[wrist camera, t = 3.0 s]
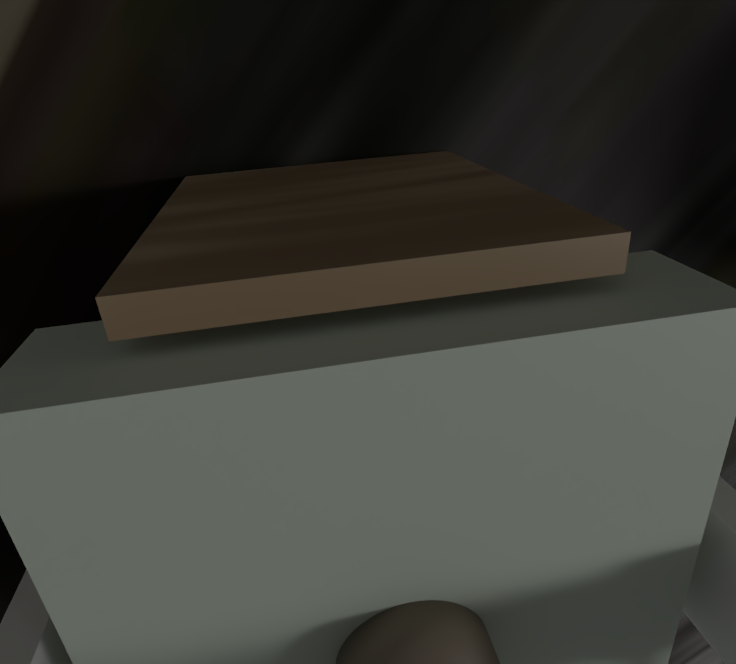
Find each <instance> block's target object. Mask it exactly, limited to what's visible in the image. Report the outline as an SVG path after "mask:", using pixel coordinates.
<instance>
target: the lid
mask: <svg viewBox="0 0 736 664" xmlns="http://www.w3.org/2000/svg"><path fill="white" fill-rule="evenodd" d="M735 417H736V289H735V288H733V287H731V286H729V285H726V284H724V283H722V282H720V281H718V280H716V279H713V278H711V277H709V276H707V275H705V274H703V273H701V272H698V271H696V270H694V269H692V268H690V267H688V266H685V265H683V264H681V263H679V262H677V261H675V260H672V259H670V258H668V257H666V256H664V255H662V254H659V253H657V252H655V251H653V250H650V251H642V252H634V253H628V256H627V263H626V269H625V273H623V274H616V275H608V276H601V277H593V278H585V279H578V280H570V281H563V282H555V283H548V284H540V285H533V286H525V287H517V288H510V289H502V290H495V291H487V292H480V293H472V294H465V295H457V296H449V297H442V298H434V299H427V300H419V301H412V302H404V303H397V304H389V305H381V306H374V307H366V308H359V309H351V310H344V311H336V312H329V313H321V314H313V315H306V316H298V317H291V318H283V319H276V320H268V321H261V322H253V323H245V324H238V325H230V326H223V327H215V328H208V329H200V330H192V331H185V332H177V333H170V334H162V335H155V336H147V337H140V338H132V339H124V340H117V341H109V340H108V337H107V334H106V331H105V328H104V324H103V321H94V322H86V323H78V324H70V325H63V326H55V327H47V328H39V329H35V330H34V331H33V332H32V333H31V334H30V336H29V337H28V338H27V339H26V340H25V341H24V342H23V343H22V345H21V346H20V347H19V348H18V349H17V350H16V351H15V352H14V354H13V355H12V356H11V357H10V358H9V359H8V360H7V361H6V363H5V364H4V365H3V366H2V367H1V368H0V516H1V518H2V520H3V522H4V524H5V526H6V528H7V530H8V532H9V534H10V536H11V538H12V540H13V542H14V544H15V546H16V548H17V550H18V552H19V554H20V557H21V559H22V561H23V563H24V565H25V567H26V569H27V571H28V573H29V575H30V577H31V579H32V581H33V583H34V585H35V587H36V589H37V591H38V593H39V595H40V597H41V599H42V601H43V604H44V606H45V608H46V610H47V612H48V614H49V616H50V618H51V620H52V622H53V624H54V626H55V628H56V630H57V632H58V634H59V636H60V638H61V640H62V642H63V644H64V646H65V648H66V651H67V653H68V655H69V657H70V659H71V661H72V663H73V664H668V661H669V657H670V654H671V650H672V646H673V643H674V639H675V636H676V632H677V628H678V625H679V621H680V617H681V614H682V610H683V606H684V603H685V599H686V595H687V592H688V588H689V585H690V581H691V577H692V574H693V570H694V566H695V563H696V559H697V555H698V552H699V548H700V545H701V541H702V537H703V534H704V530H705V526H706V523H707V519H708V515H709V512H710V508H711V504H712V501H713V497H714V494H715V490H716V486H717V483H718V479H719V475H720V472H721V468H722V464H723V461H724V457H725V453H726V450H727V446H728V443H729V439H730V435H731V432H732V428H733V424H734V421H735Z"/></svg>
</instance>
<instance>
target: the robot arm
mask: <svg viewBox="0 0 736 664" xmlns="http://www.w3.org/2000/svg"><path fill="white" fill-rule="evenodd" d="M683 611H684V612H685V614H686V615H687V616H688V618H689V619H690V620H691V621H692V623H693V624H694V625H695V627H696V628H697V629H698V630H699V632H700V633H701V634H702V636H703V637H704V638H705V639H706V641H707V642H708V643H709V645H710V646H711V647H712V648H713V650H714V651H715V652H716V654H717V655H718V656H719V657H720V659H721V660H722V661H723V663H724V664H736V490H735V489H733V488H732V487H731V486H730V485H729V484H728V483H727V482H726V481H724V480H723V479H722V478H721V477H720V476H719V479H718V483H717V486H716V490H715V494H714V497H713V501H712V504H711V508H710V512H709V515H708V519H707V523H706V526H705V530H704V534H703V537H702V541H701V545H700V548H699V552H698V555H697V559H696V563H695V566H694V570H693V574H692V577H691V581H690V585H689V588H688V592H687V595H686V599H685V603H684V606H683ZM0 664H73V663H72V661H71V659H70V657H69V655H68V653H67V651H66V648H65V646H64V644H63V642H62V640H61V638H60V636H59V634H58V632H57V630H56V628H55V626H54V624H53V622H52V620H51V618H50V616H49V614H48V612H47V610H46V608H45V606H44V604H43V601H42V599H41V597H40V595H39V593H38V591H37V589H36V587H35V585H34V583H33V581H32V579H31V577H30V575H29V573H28V571H27V569H26V571H25V573H24V576H23V578H22V580H21V582H20V584H19V586H18V588H17V590H16V592H15V594H14V596H13V598H12V601H11V603H10V605H9V607H8V609H7V611H6V613H5V615H4V617H3V619H2V621H1V624H0Z"/></svg>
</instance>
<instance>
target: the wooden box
mask: <svg viewBox="0 0 736 664" xmlns="http://www.w3.org/2000/svg"><path fill="white" fill-rule="evenodd" d="M630 235H631V232H630V231H628V230H626V229H624V228H621V227H619V226H617V225H614V224H612V223H610V222H608V221H605V220H603V219H601V218H598V217H596V216H594V215H592V214H589V213H587V212H585V211H583V210H580V209H578V208H576V207H573V206H571V205H569V204H567V203H564V202H562V201H560V200H557V199H555V198H553V197H551V196H548V195H546V194H544V193H542V192H539V191H537V190H535V189H532V188H530V187H528V186H526V185H523V184H521V183H519V182H517V181H514V180H512V179H510V178H507V177H505V176H503V175H501V174H498V173H496V172H494V171H491V170H489V169H487V168H485V167H482V166H480V165H478V164H476V163H473V162H471V161H469V160H466V159H464V158H462V157H460V156H457V155H455V154H453V153H450V152H448V151H439V152H429V153H419V154H409V155H399V156H389V157H378V158H368V159H358V160H348V161H338V162H328V163H318V164H308V165H298V166H287V167H277V168H267V169H257V170H247V171H237V172H227V173H217V174H207V175H196V176H186V177H185V178H184V179H183V181H182V182H181V183H180V185H179V186H178V187H177V189H176V190H175V191H174V193H173V194H172V195H171V197H170V198H169V199H168V201H167V202H166V203H165V205H164V206H163V207H162V209H161V210H160V211H159V213H158V214H157V215H156V217H155V218H154V219H153V221H152V222H151V223H150V225H149V226H148V227H147V229H146V230H145V231H144V233H143V234H142V236H141V237H140V238H139V240H138V241H137V242H136V244H135V245H134V246H133V248H132V249H131V250H130V252H129V253H128V254H127V256H126V257H125V258H124V260H123V261H122V262H121V264H120V265H119V266H118V268H117V269H116V270H115V272H114V273H113V274H112V276H111V277H110V278H109V280H108V281H107V282H106V284H105V285H104V286H103V288H102V289H101V290H100V292H99V293H98V294H97V296H96V297H95V299H96V302H97V305H98V308H99V312H100V315H101V318H102V321H103V324H104V328H105V331H106V334H107V337H108V340H109V341H117V340H124V339H132V338H140V337H147V336H155V335H162V334H170V333H177V332H185V331H192V330H200V329H208V328H215V327H223V326H230V325H238V324H245V323H253V322H261V321H268V320H276V319H283V318H291V317H298V316H306V315H313V314H321V313H329V312H336V311H344V310H351V309H359V308H366V307H374V306H381V305H389V304H397V303H404V302H412V301H419V300H427V299H434V298H442V297H449V296H457V295H465V294H472V293H480V292H487V291H495V290H502V289H510V288H517V287H525V286H533V285H540V284H548V283H555V282H563V281H570V280H578V279H585V278H593V277H601V276H608V275H616V274H623V273H625V269H626V263H627V256H628V249H629V242H630Z"/></svg>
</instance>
